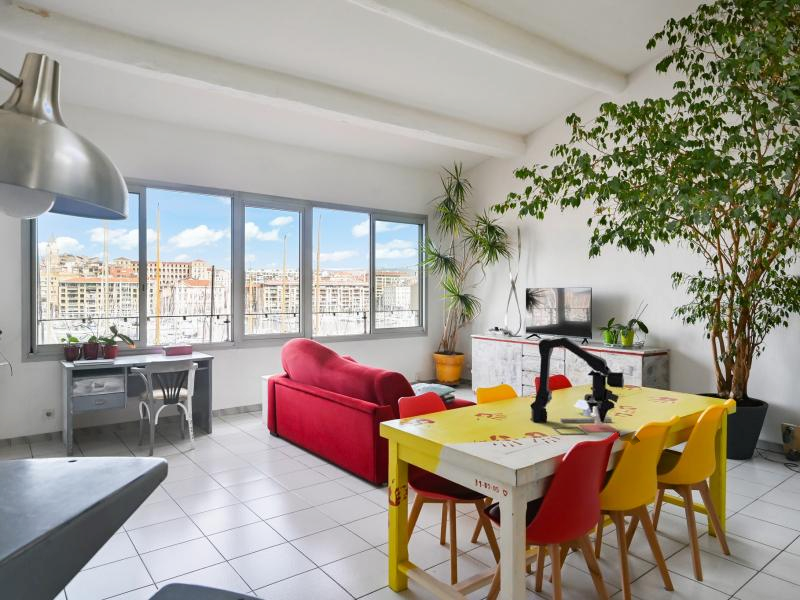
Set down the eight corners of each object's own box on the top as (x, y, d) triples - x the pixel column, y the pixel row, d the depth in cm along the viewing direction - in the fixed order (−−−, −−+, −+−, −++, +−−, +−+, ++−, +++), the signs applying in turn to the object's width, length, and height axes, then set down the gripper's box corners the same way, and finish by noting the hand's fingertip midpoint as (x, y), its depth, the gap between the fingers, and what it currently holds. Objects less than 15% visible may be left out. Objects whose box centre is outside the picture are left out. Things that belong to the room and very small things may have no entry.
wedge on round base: (573, 413, 270) (594, 418, 258) (573, 400, 269) (594, 404, 258) (585, 411, 274) (606, 416, 263) (585, 398, 274) (606, 402, 263)
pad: (589, 432, 233) (589, 431, 233) (578, 425, 245) (578, 424, 245) (620, 431, 233) (620, 431, 233) (607, 425, 245) (607, 424, 245)
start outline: (560, 434, 228) (560, 433, 228) (552, 428, 239) (552, 427, 239) (588, 434, 229) (588, 433, 229) (578, 427, 240) (578, 427, 240)
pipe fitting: (599, 422, 243) (600, 405, 243) (609, 426, 236) (609, 408, 236) (587, 423, 242) (588, 405, 241) (597, 427, 235) (597, 409, 235)
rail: (562, 422, 249) (562, 419, 249) (560, 421, 251) (560, 418, 251) (611, 422, 250) (611, 419, 250) (609, 421, 253) (609, 417, 253)
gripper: (626, 389, 230) (625, 425, 230) (607, 382, 248) (606, 415, 249) (601, 389, 229) (600, 425, 229) (584, 382, 248) (583, 415, 248)
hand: (598, 419), depth 239 cm, fingers closed on pipe fitting, 7 cm apart
